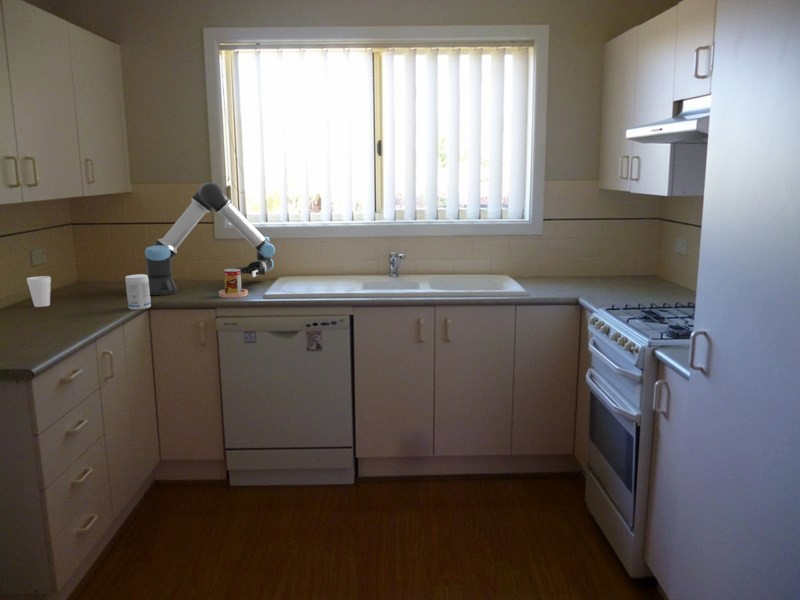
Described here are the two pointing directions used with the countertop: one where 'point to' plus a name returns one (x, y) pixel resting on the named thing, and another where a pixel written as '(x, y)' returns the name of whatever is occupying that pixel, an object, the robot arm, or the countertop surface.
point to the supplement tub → (138, 292)
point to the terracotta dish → (233, 294)
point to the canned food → (232, 281)
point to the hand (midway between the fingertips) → (239, 274)
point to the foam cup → (40, 290)
